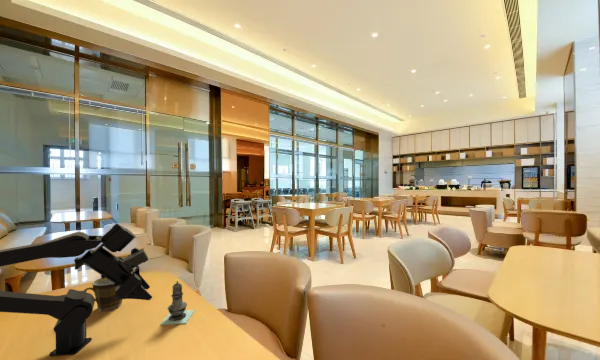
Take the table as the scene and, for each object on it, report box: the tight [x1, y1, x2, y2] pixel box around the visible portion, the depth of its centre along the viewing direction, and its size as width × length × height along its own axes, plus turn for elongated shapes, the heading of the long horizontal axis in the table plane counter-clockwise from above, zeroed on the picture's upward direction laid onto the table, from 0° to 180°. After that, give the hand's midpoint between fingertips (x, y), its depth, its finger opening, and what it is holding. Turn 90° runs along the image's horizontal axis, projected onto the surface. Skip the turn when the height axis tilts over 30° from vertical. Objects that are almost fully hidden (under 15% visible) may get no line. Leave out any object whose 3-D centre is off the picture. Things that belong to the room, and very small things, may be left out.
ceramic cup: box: [84, 277, 123, 312], centre depth 92 cm, size 13×10×10 cm
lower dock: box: [160, 309, 195, 326], centre depth 85 cm, size 8×8×1 cm
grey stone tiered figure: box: [167, 280, 188, 321], centre depth 85 cm, size 6×6×12 cm
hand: (149, 293), depth 81 cm, fingers open, 9 cm apart
